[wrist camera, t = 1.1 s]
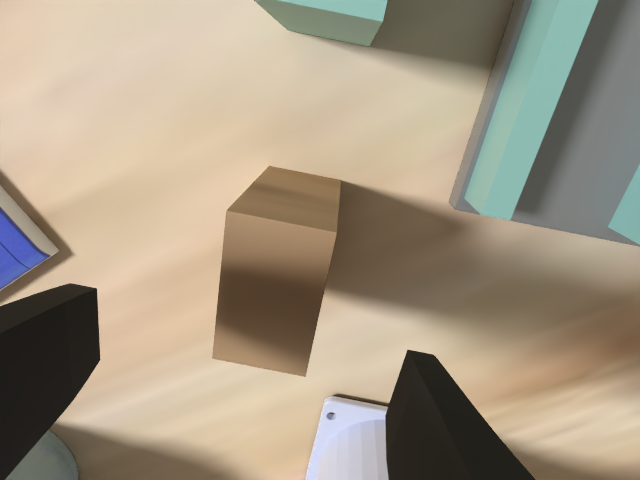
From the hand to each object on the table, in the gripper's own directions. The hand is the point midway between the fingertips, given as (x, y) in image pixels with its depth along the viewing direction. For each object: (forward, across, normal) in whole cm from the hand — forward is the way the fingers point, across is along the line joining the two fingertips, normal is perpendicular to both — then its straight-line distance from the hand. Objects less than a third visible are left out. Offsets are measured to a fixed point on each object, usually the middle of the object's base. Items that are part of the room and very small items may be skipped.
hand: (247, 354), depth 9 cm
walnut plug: (+8, 0, 0) cm, 9 cm away
